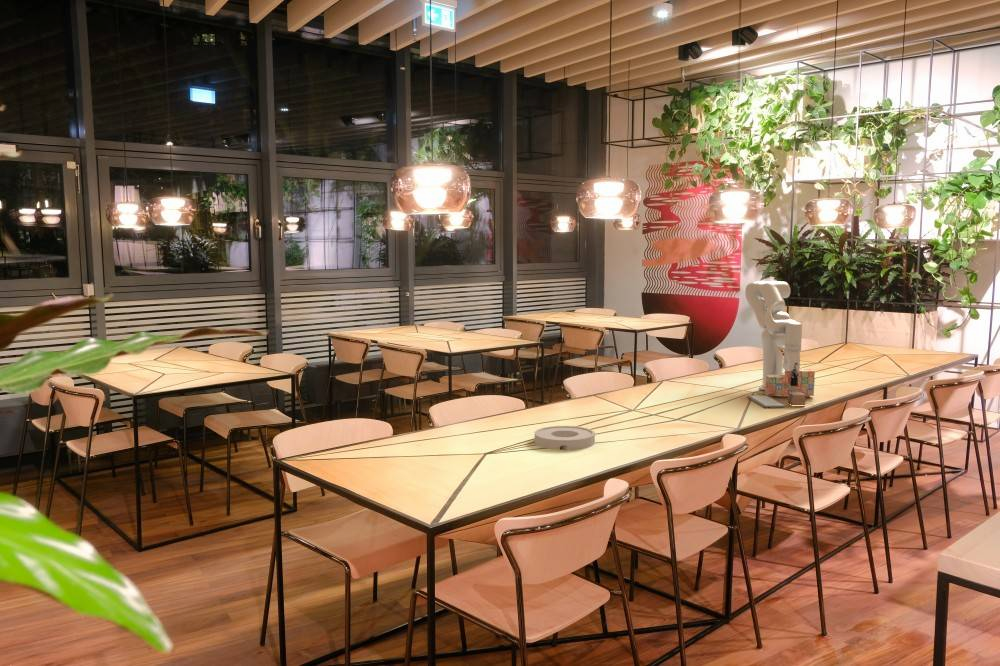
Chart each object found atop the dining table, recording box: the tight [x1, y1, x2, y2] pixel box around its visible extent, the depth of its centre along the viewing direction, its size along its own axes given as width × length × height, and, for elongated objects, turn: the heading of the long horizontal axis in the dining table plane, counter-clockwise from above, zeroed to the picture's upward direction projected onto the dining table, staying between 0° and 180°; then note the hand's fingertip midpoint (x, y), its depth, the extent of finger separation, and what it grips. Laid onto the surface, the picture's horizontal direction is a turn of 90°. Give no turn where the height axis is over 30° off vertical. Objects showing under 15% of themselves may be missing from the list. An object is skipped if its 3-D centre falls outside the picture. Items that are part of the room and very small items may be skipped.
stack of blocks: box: [764, 368, 816, 397], centre depth 375 cm, size 21×6×12 cm, turn 86°
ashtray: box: [534, 425, 596, 451], centre depth 296 cm, size 23×23×4 cm
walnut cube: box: [787, 392, 806, 406], centre depth 356 cm, size 6×6×6 cm
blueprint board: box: [746, 394, 788, 408], centre depth 363 cm, size 25×10×1 cm, turn 0°
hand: (791, 383), depth 375 cm, fingers closed on stack of blocks, 6 cm apart
